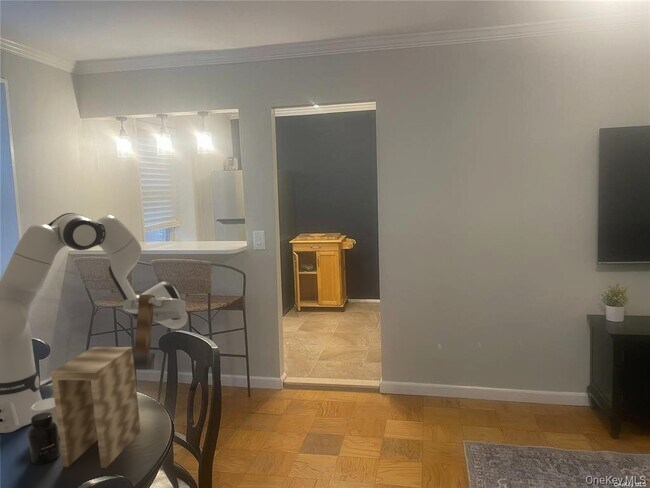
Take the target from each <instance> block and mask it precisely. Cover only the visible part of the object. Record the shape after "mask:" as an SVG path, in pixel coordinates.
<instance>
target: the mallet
mask: <svg viewBox="0 0 650 488" xmlns="http://www.w3.org/2000/svg"><path fill="white" fill-rule="evenodd" d="M139 295H140V294H139ZM154 297H155V296H153V295H140V296H139V307H138V318H137V321H136V331H135V332H136V333H135V342H134V352H133V361H134V371H135V370H136V371H139V370H140V371H143V370H144V371H146V370H148V371H149V370H154V368H155V357H156V353H151V344H152V343H151V342H152V330H153V322H154V321H153V309H154V305H153V304H149V298H154Z"/></svg>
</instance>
